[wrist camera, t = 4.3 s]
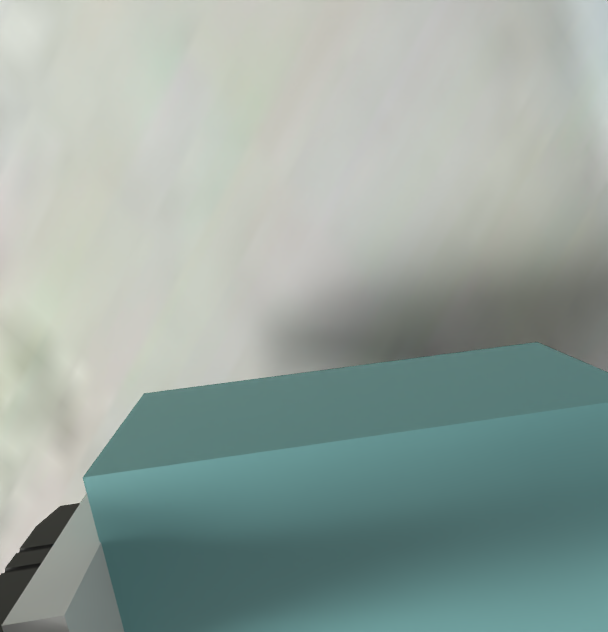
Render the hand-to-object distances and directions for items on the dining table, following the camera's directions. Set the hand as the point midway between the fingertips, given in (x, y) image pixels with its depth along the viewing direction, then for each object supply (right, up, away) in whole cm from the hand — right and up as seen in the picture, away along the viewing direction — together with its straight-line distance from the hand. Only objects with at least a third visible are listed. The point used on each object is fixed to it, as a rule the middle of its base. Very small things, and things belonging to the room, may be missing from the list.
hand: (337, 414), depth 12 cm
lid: (+1, -7, -1) cm, 7 cm away
